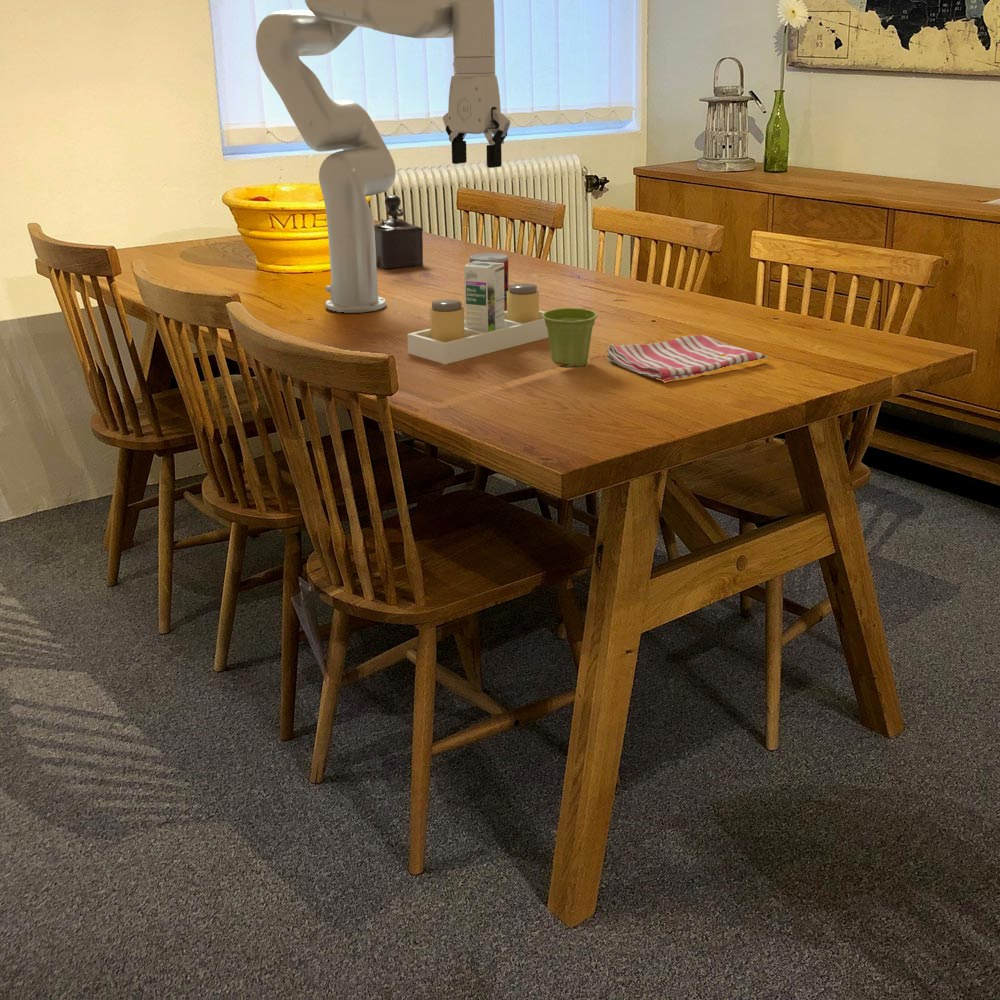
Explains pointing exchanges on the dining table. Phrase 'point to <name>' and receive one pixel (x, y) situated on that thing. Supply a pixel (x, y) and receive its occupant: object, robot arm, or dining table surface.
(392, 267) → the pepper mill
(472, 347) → the caddy
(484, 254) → the canned food
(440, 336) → the honey jar
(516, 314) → the honey jar
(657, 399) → the dining table surface
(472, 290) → the syrup box
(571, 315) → the plant pot
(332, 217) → the robot arm
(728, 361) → the dish towel
